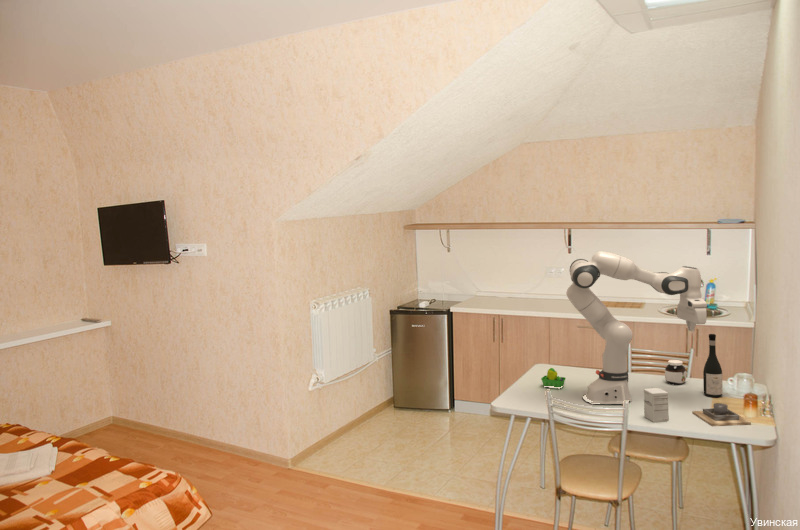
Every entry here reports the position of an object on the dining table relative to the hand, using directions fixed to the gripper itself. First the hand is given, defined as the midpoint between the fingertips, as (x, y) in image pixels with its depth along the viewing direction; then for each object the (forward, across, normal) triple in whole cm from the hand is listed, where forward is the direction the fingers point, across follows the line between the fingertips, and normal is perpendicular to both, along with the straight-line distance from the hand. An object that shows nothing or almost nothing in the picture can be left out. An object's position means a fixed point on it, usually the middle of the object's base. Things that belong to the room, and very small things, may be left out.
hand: (691, 330), depth 258 cm
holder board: (+34, +22, +1) cm, 41 cm away
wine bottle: (+34, -10, +15) cm, 39 cm away
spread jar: (+34, -35, +8) cm, 50 cm away
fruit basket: (+34, -34, -56) cm, 74 cm away
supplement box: (+34, +19, -25) cm, 47 cm away
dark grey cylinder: (+33, +22, +1) cm, 40 cm away
